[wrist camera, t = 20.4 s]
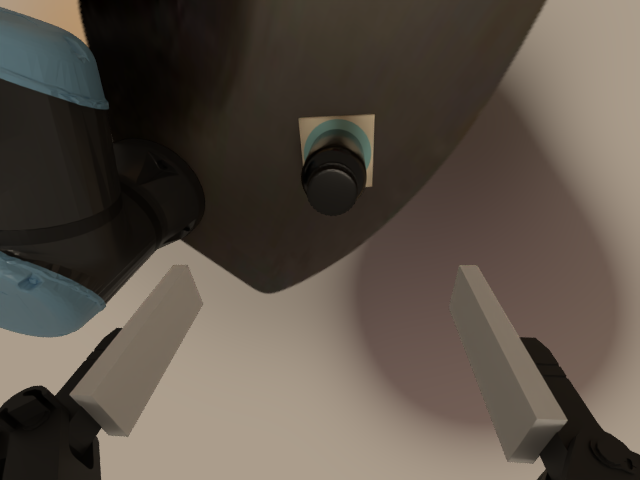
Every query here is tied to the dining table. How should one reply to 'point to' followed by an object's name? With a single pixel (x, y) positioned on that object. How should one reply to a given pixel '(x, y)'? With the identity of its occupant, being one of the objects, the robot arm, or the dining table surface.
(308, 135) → the board
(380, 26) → the dining table surface
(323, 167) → the supplement bottle
